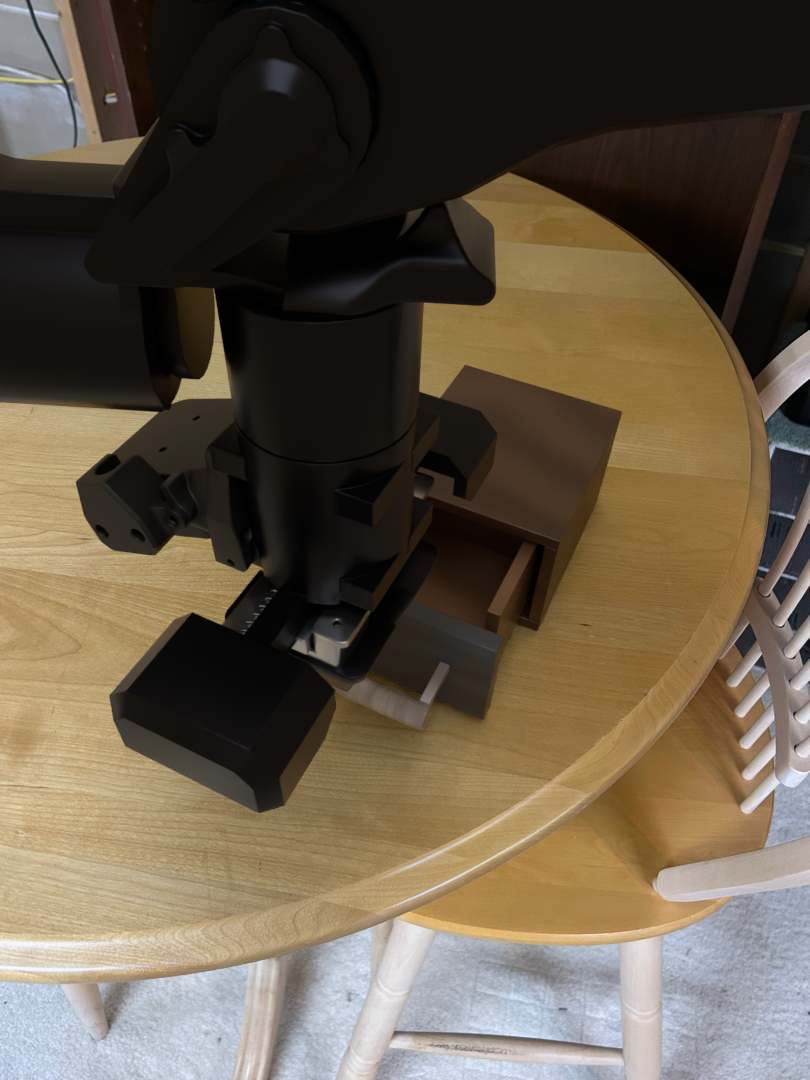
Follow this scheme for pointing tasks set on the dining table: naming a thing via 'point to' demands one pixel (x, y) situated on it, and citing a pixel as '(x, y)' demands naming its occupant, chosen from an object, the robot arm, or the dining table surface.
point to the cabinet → (534, 470)
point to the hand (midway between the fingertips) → (341, 681)
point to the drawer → (454, 623)
